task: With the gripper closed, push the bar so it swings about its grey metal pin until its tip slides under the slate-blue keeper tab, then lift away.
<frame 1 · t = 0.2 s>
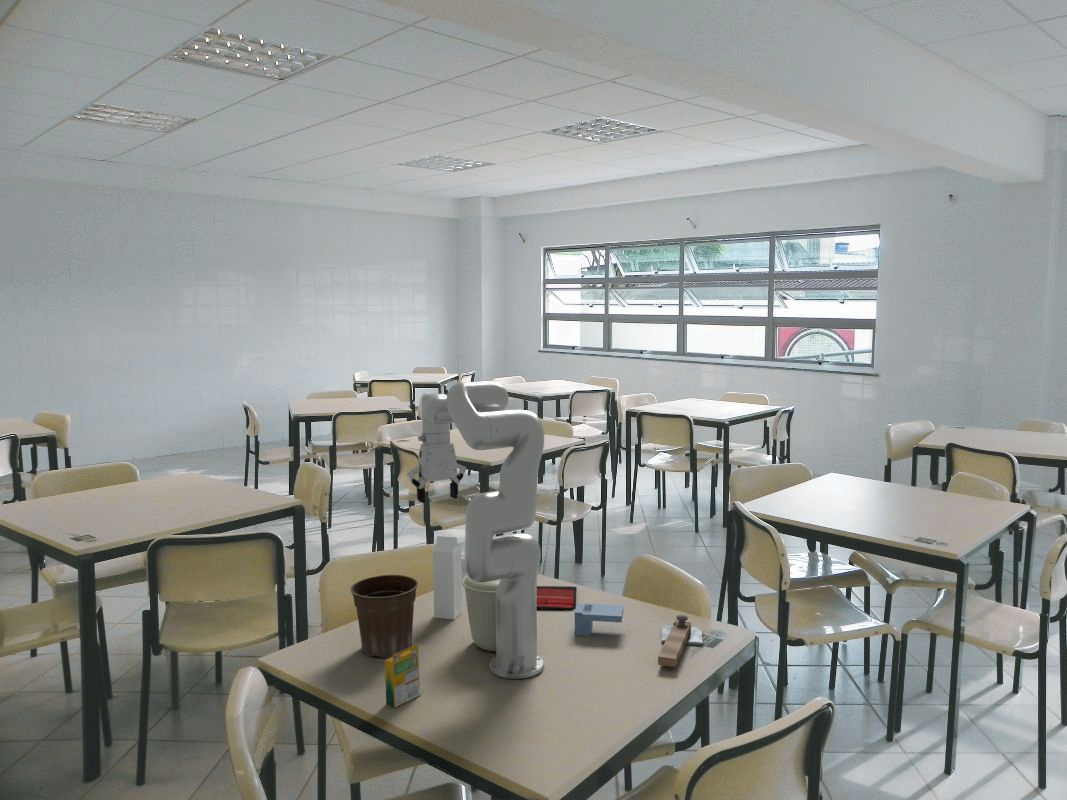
hand: (437, 499, 220), 31 cm above the table, tool pointing down, fingers open, 9 cm apart
crayon box: (403, 700, 169), on the table
pintle base: (681, 636, 201), on the table
canister: (499, 644, 198), on the table
keeper: (583, 631, 206), on the table
milk: (448, 615, 218), on the table
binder: (539, 602, 229), on the table
latch bar: (675, 638, 192), point 3 cm above the table, hinge at 80.0°
plant pot: (386, 649, 196), on the table
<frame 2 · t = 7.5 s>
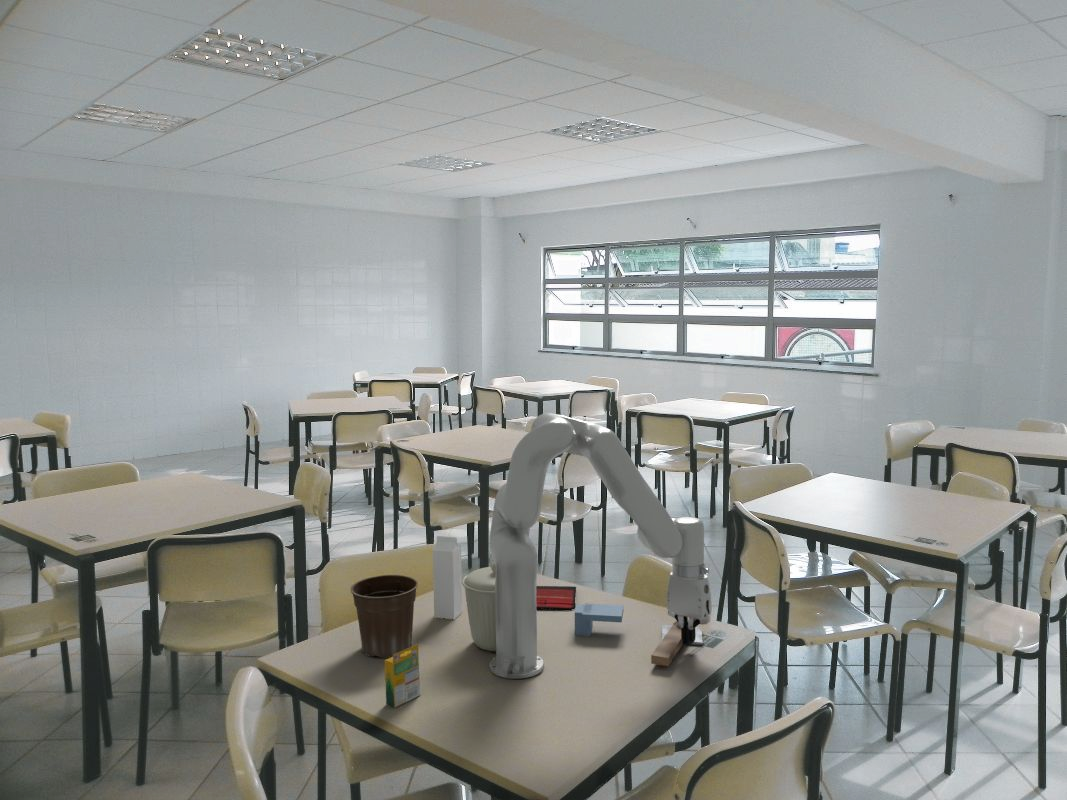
hand: (688, 642, 192), 2 cm above the table, tool pointing down, fingers closed
latch bar: (672, 638, 193), point 3 cm above the table, hinge at 75.4°, touching gripper
everything else where it was.
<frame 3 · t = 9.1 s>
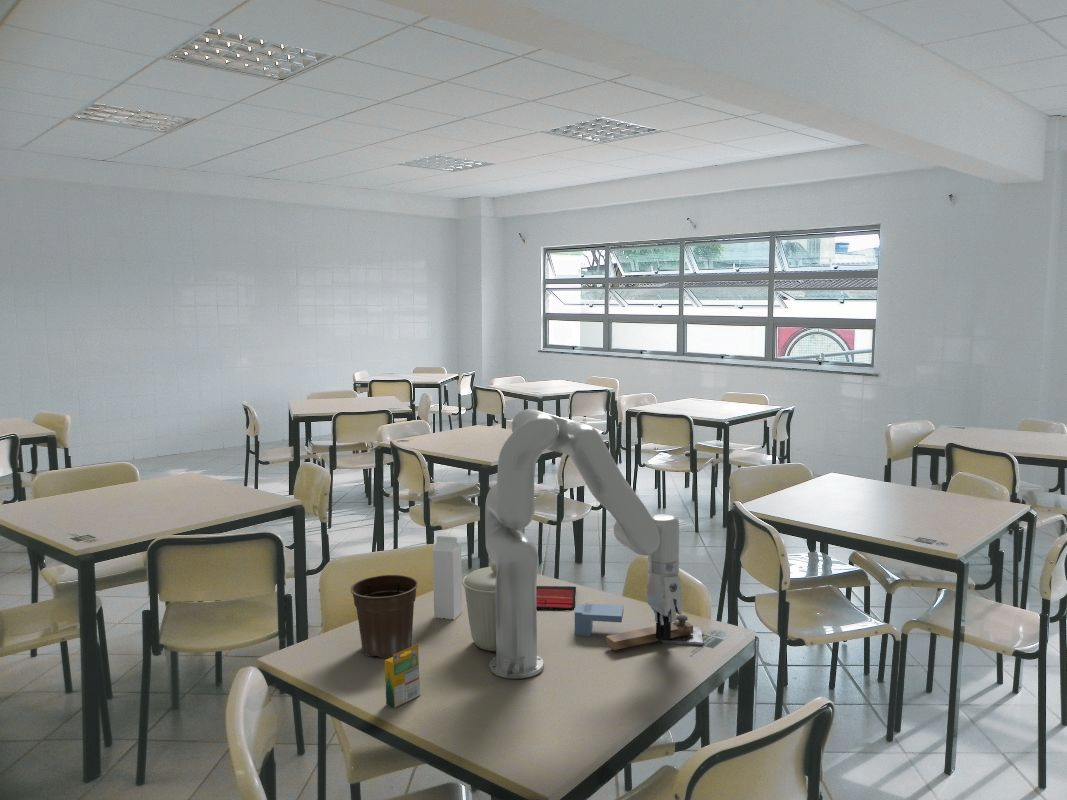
hand: (663, 638, 195), 2 cm above the table, tool pointing down, fingers closed
latch bar: (650, 631, 197), point 3 cm above the table, hinge at 34.4°, touching gripper
everything else where it was.
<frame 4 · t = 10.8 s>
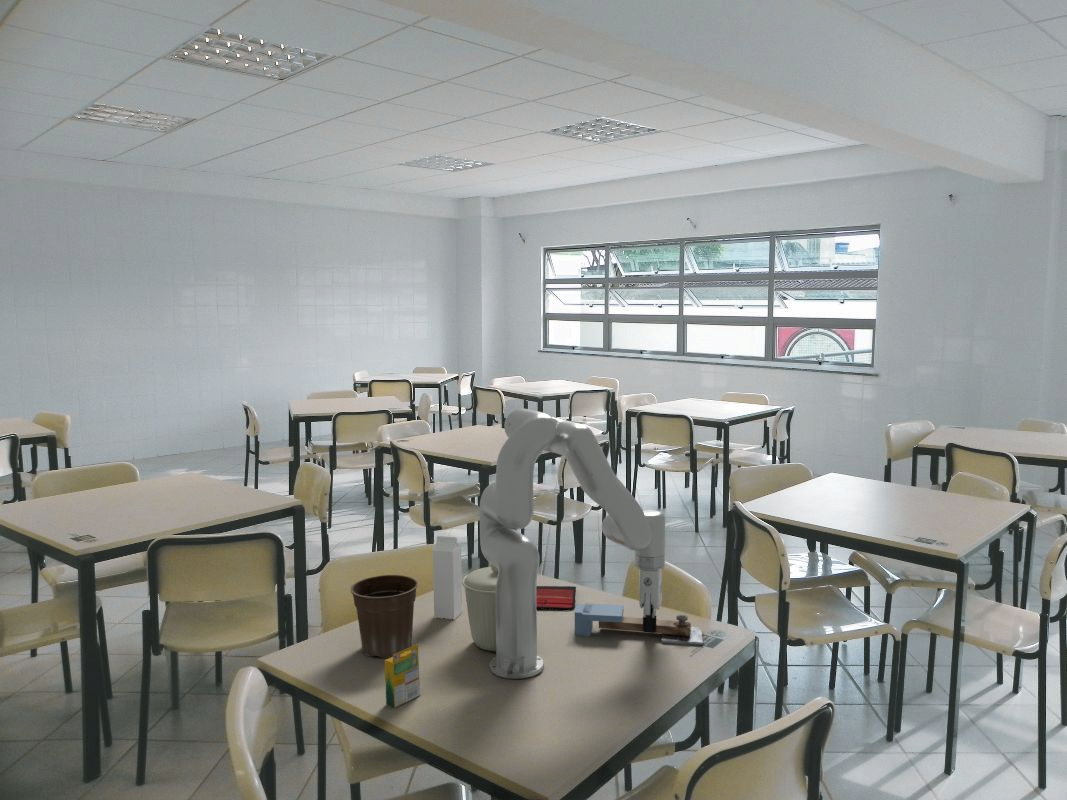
hand: (649, 631, 200), 2 cm above the table, tool pointing down, fingers closed
latch bar: (644, 621, 203), point 3 cm above the table, hinge at -4.4°, touching gripper
everything else where it was.
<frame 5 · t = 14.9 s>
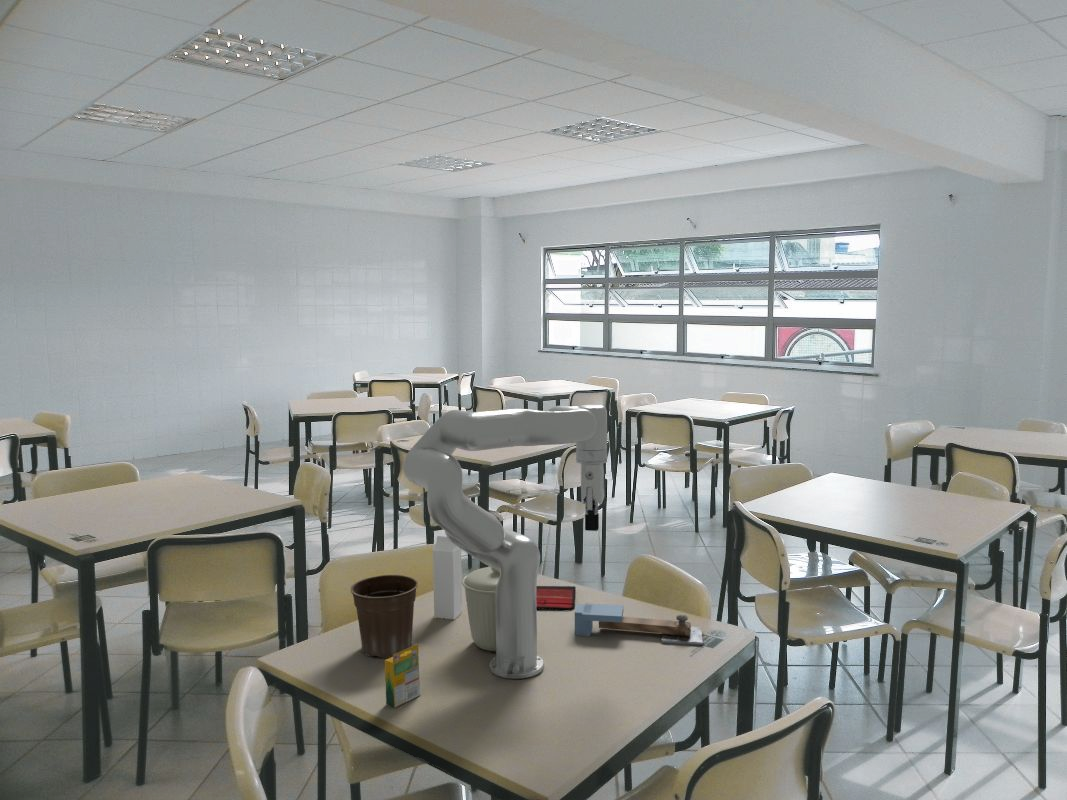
hand: (591, 529, 194), 29 cm above the table, tool pointing down, fingers closed
latch bar: (644, 621, 203), point 3 cm above the table, hinge at -4.5°
everything else where it was.
at the end: latch bar at -4° (first picture: +80°); the gripper is holding nothing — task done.
